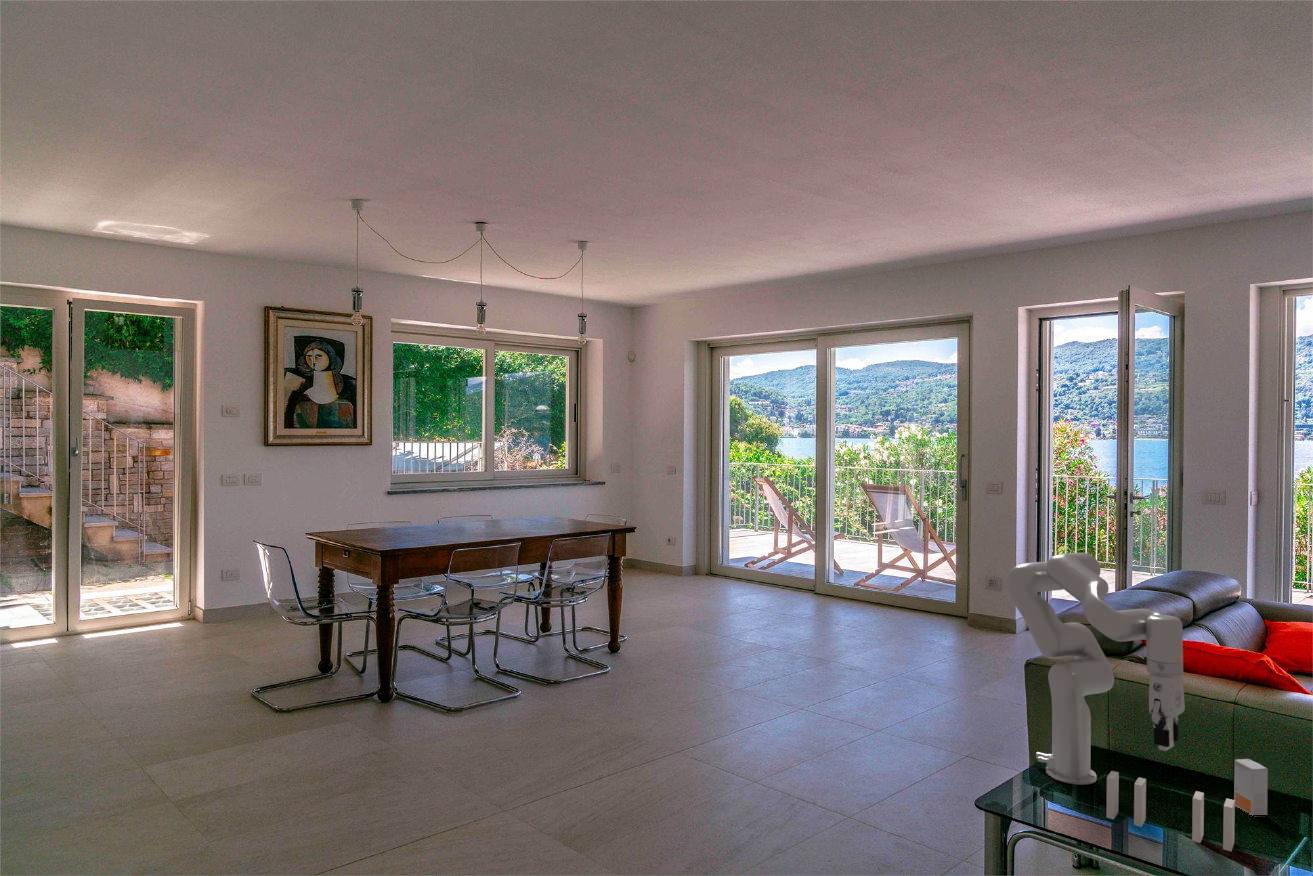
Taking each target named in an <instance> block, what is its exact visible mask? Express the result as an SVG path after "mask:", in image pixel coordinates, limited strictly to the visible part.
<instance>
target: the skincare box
mask: <svg viewBox="0 0 1313 876" xmlns="http://www.w3.org/2000/svg"><path fill="white" fill-rule="evenodd" d="M1233 774H1234V776H1233V777H1234V781H1233V784H1234V785H1233V786H1234V787H1233V789H1234V791H1233V792H1234V793H1233V800H1235V808H1238V809H1239V808H1240V809H1239V810H1241V809H1242V810H1241V811H1243V812H1244V811H1245V812H1244V813H1246V812H1247V813H1249V814H1248V815H1252V816H1253V815H1267V816H1268V784H1269V783H1268V780H1269V779H1268V776H1269V775H1268V774H1269V770H1268V767H1265V766H1264V765H1262V764H1261V763H1258V762H1256V761H1254V760H1252V759H1250V758H1241V759H1240V758H1238V759H1234V773H1233ZM1247 813H1246V814H1247ZM1252 816H1251V817H1252Z"/></svg>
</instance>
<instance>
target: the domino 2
mask: <svg viewBox="0 0 1313 876" xmlns="http://www.w3.org/2000/svg"><path fill="white" fill-rule="evenodd" d="M1133 789H1134V792H1133V794H1134V797H1133V799H1134V800H1133V825H1134V826H1136V827H1140V828H1142V827H1143V825H1144V823H1145V822H1146V818H1147V816H1146V815H1147V812H1146V811H1147V806H1146V805H1147V779H1146V778H1143V777H1140V776H1139V777H1138V778H1137V779H1136V780H1135V782H1134V787H1133Z"/></svg>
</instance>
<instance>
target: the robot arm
mask: <svg viewBox="0 0 1313 876" xmlns="http://www.w3.org/2000/svg"><path fill="white" fill-rule="evenodd" d="M1101 571H1102V570H1101V565H1100V563H1099V561H1098V560H1097V559H1096V558H1095V557H1094V555H1091V554H1090V553H1087V552H1072V553H1060V554H1055V555H1053V556H1052V557H1050V558H1049V559H1048V560H1047V561H1034V562H1025V563H1020V564H1017V565H1015V566H1014V567H1012V568H1011V569H1010V571H1008V574H1007V579H1006V588H1007V592H1008V595H1009V597H1010V599H1011V602H1012V603H1013V604H1014V607H1016V609H1017V610H1018V612H1019V614H1020V615H1021V616H1022V617H1023V620H1024V622H1025V625H1026V626H1027V628H1028V630H1029V633H1030V634H1031V636H1032V638H1033V640H1034V642H1035V645H1036V646H1037V648H1038V649H1039V652H1040V653H1041V655H1042V656H1044V658H1047V659H1051V660H1056V659H1068V658H1073V659H1068V660H1062V661H1059V662H1056V663H1055V664H1053V665H1052V666H1051V667H1050V668H1049V671H1048V677H1047V678H1048V684H1049V689H1050V694H1051V695H1050V696H1051V711H1052V712H1051V714H1052V715H1051V720H1052V721H1051V722H1052V723H1051V729H1052V730H1051V753H1048V754H1047V753H1044V752H1040V751H1036V753H1035V758H1036V760H1037V761H1038V763H1042V764H1043V763H1044V764H1046V766H1045V773H1046V774H1047V775H1048V776H1049V777H1050V776H1051V777H1050V778H1052V779H1054V780H1056V781H1058V782H1062V783H1066V784H1070V785H1081V786H1083V785H1085V786H1086V785H1091V784H1094V783H1096V781H1097V780H1098V779H1097V778H1098V775H1097V774H1096V772H1095V771H1094V770H1092V769H1091V761H1092V760H1091V756H1092V755H1091V747H1092V746H1091V743H1092V741H1091V739H1092V735H1091V734H1092V730H1091V729H1092V716H1091V711H1090V708H1089V705H1088V704H1087V702H1086V699H1085V697H1086V696H1089V695H1095V694H1102V693H1106V692H1108V691H1110V690H1111V689H1112V688H1113V686H1114V684H1115V676H1114V672H1113V668H1112V667H1111V665H1110V664H1111V663H1109V661H1108V659H1107V657H1106V655H1105V652H1104V651H1103V650H1102V648H1101V646H1100V644H1099V642H1098V640H1097V639H1096V637H1095V635H1094V633H1093V632H1092V631H1091V630H1090V629H1089V628H1088V627H1087V626H1086V625H1084V624H1082V623H1081V622H1074V621H1073V622H1072V621H1071V622H1062V621H1061V620H1060V619H1059V617H1058V614H1056V611H1055V609H1054V608H1053V606H1052V605H1051V604H1050V603H1049V602H1048V601H1047V600H1046V599H1045V598H1043V597H1042V596H1041V595H1040V594H1039V593H1040V592H1042V593H1043V592H1052V591H1053V592H1054V591H1063V590H1064V591H1065V592H1066V593H1068V594H1069V595H1071V596H1072V597H1073V598H1075V599H1076V600H1077V601H1078V602H1080V603H1081V605H1082V611H1083V615H1085V618H1086V621H1088V622H1089V624H1090V625H1091V626H1092V627H1094V628H1095V630H1097V631H1099V632H1100V633H1101V634H1103V635H1104V636H1105V637H1106V638H1109V640H1113V641H1114V642H1122V643H1123V642H1132V641H1142V640H1143V641H1144V640H1146V671H1147V673H1148V674H1149V684H1148V686H1149V687H1148V711H1149V714H1150V715H1151V721H1152V723H1153V724H1152V725H1153V726H1152V727H1153V743H1154V745H1158V746H1159V745H1160V746H1165V747H1169V746H1170V742H1169V730H1167V729H1168V718H1169V719H1173V741H1174V742H1178V741H1179V716H1180V715H1181V714H1183V713H1184V712H1185V710H1186V704H1185V703H1186V702H1185V689H1184V680H1183V676H1184V648H1183V647H1184V645H1183V644H1184V643H1183V639H1184V637H1183V622H1182V620H1181V619H1180V618H1179V617H1177V616H1174V615H1170V614H1162V613H1159V612H1157V611H1155V610H1152V609H1150V608H1133V609H1131V608H1130V609H1123V610H1116V609H1114V608H1113V607H1111V606H1109V604H1107V603H1105V602H1104V600H1105V599H1106V598H1107V595H1108V593H1109V590H1110V589H1109V584H1108V582H1107V581H1106V579H1105V578H1103V577H1101V576H1100V575H1101ZM1160 713H1163V714H1164V715H1165V716H1160ZM1160 718H1162V719H1164V723H1163V721H1162V720H1160Z"/></svg>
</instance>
